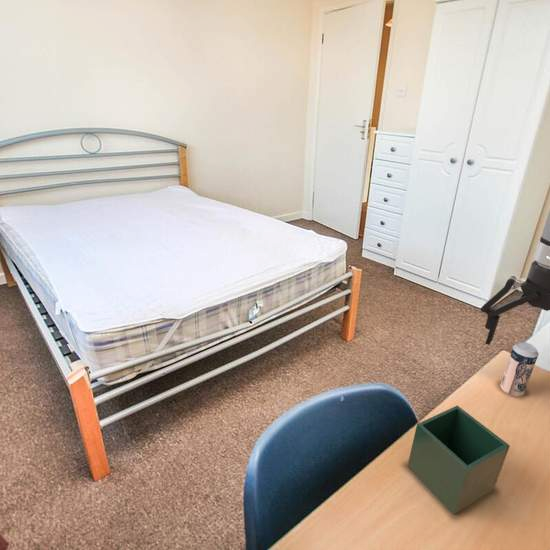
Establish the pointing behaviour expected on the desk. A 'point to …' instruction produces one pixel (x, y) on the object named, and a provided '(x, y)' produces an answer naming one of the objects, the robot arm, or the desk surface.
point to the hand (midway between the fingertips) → (522, 354)
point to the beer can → (519, 368)
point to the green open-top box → (456, 457)
